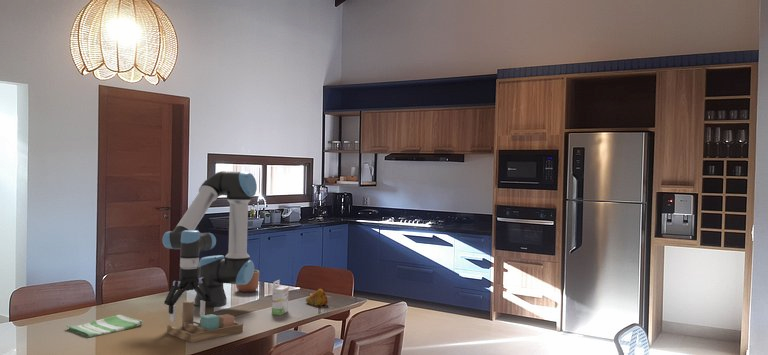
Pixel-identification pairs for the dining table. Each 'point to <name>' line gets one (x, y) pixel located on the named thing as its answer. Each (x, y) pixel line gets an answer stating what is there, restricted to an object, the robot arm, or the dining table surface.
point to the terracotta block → (226, 320)
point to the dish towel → (106, 326)
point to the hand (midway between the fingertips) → (187, 318)
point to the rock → (317, 298)
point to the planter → (250, 283)
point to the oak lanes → (202, 332)
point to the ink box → (279, 298)
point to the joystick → (206, 321)
